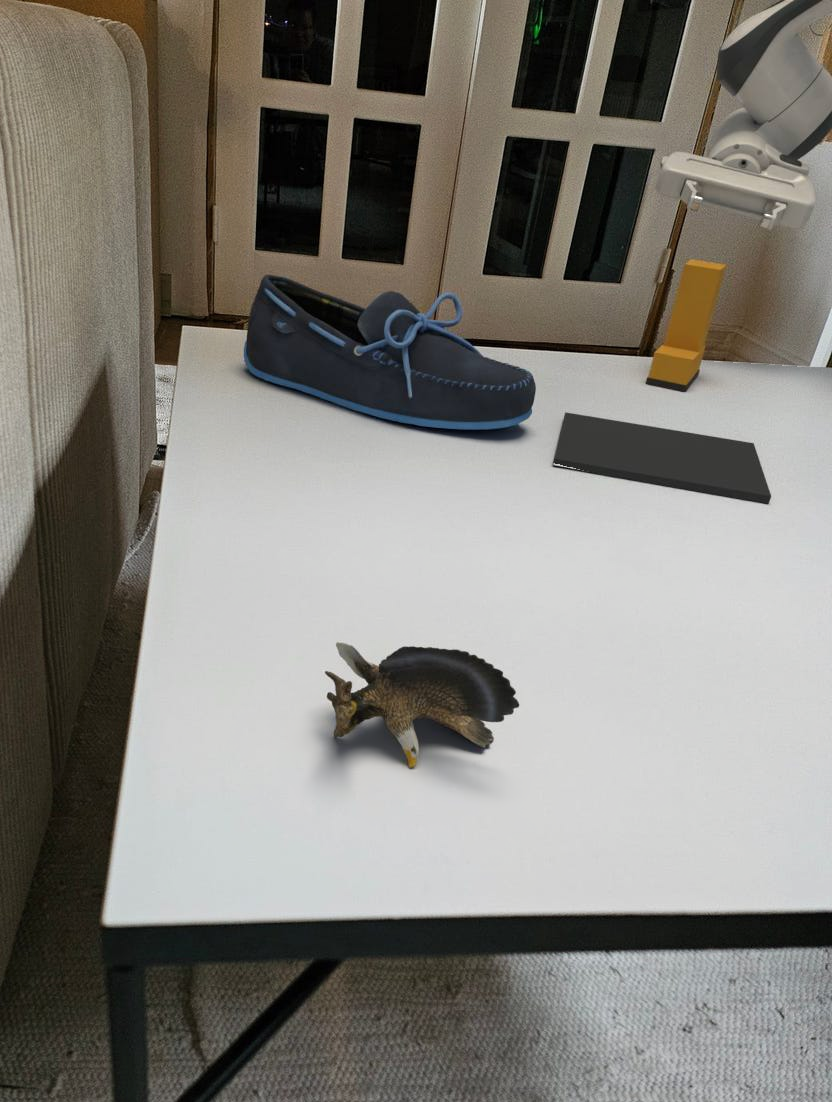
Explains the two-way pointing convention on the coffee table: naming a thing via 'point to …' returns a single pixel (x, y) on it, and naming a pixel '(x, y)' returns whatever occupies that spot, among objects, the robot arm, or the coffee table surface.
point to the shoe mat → (662, 457)
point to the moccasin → (381, 359)
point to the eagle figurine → (423, 694)
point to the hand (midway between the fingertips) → (730, 213)
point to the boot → (687, 326)
